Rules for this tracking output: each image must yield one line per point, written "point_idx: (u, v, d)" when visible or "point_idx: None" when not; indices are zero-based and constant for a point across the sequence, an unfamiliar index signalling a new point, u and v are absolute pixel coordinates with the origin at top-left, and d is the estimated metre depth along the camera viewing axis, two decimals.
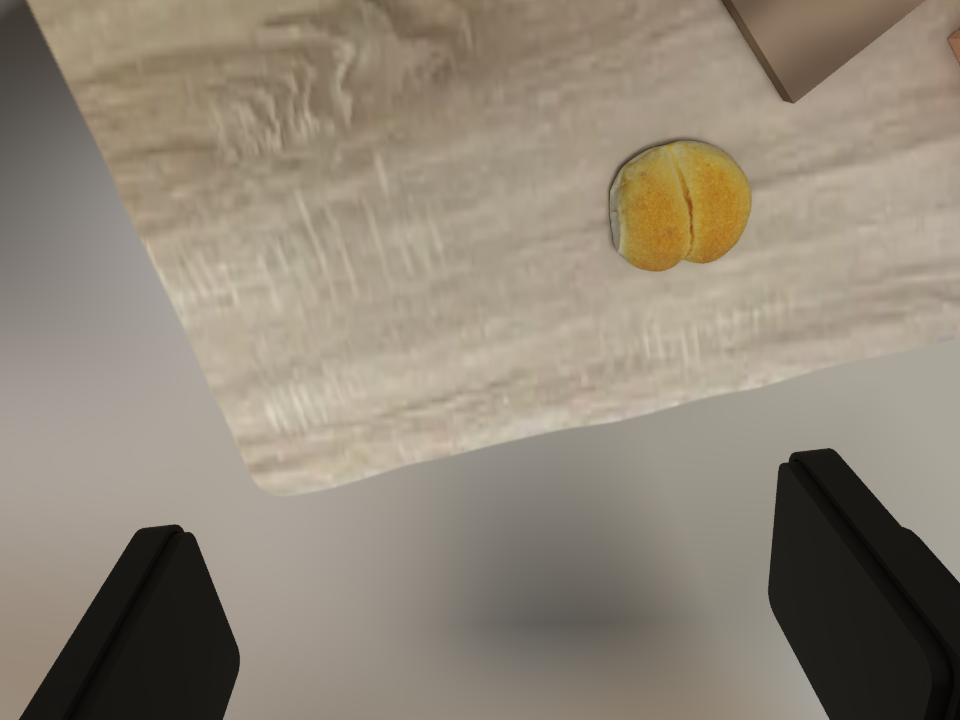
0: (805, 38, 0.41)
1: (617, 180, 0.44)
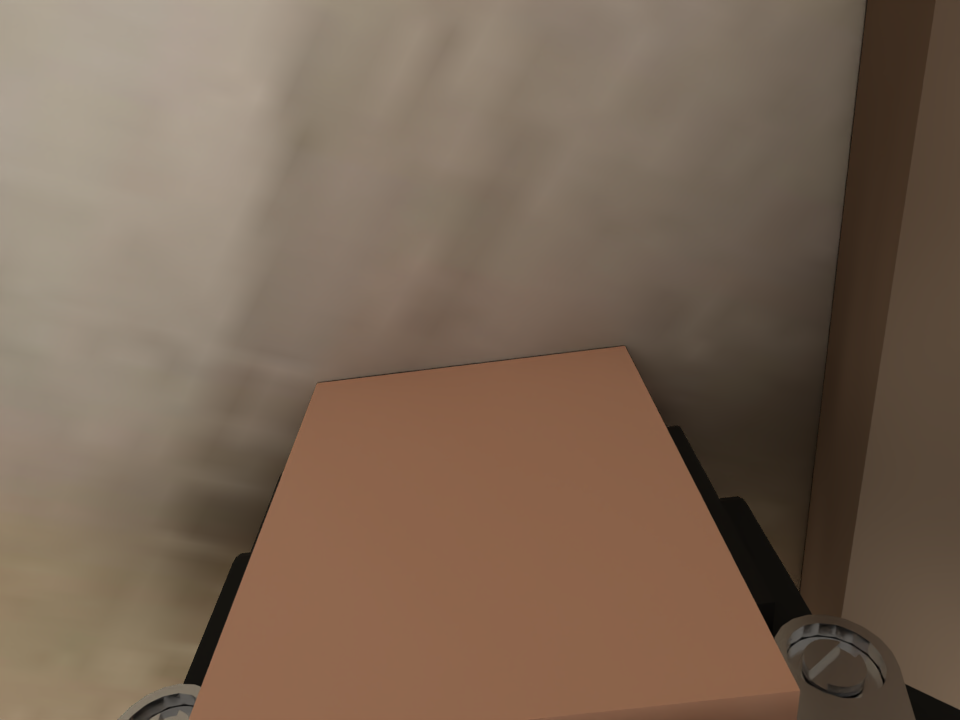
0: None
1: None
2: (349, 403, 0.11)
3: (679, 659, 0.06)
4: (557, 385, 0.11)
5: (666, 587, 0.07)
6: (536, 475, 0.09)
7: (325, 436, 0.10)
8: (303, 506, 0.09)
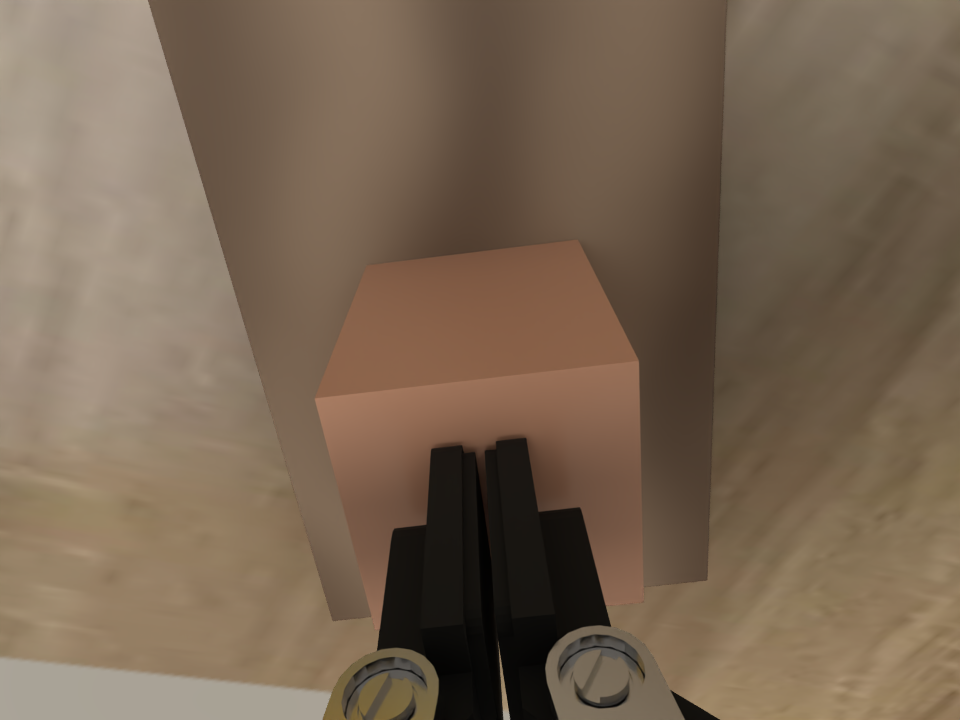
0: (303, 92, 0.15)
1: None
2: (390, 273, 0.16)
3: (580, 355, 0.11)
4: (529, 259, 0.16)
5: (579, 333, 0.12)
6: (511, 297, 0.14)
7: (376, 288, 0.15)
8: (367, 316, 0.14)
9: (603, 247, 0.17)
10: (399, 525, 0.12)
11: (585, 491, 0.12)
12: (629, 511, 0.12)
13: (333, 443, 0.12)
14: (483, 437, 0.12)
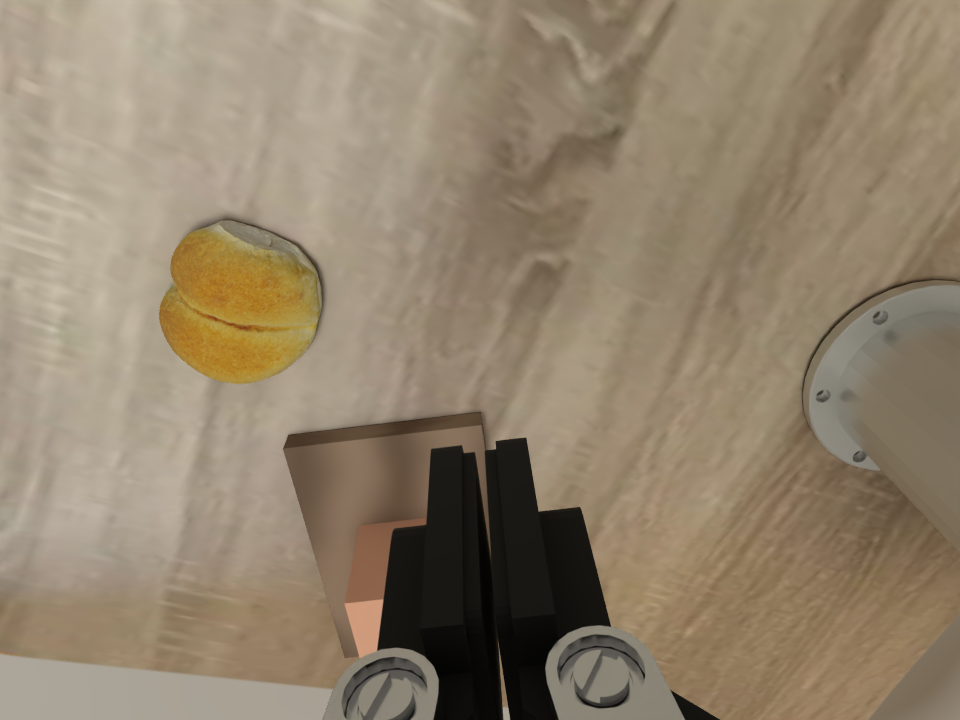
0: (336, 474, 0.43)
1: (304, 261, 0.37)
2: (368, 533, 0.44)
3: None
4: None
5: None
6: None
7: (362, 543, 0.43)
8: (359, 561, 0.41)
9: None
10: (369, 636, 0.40)
11: None
12: None
13: (349, 615, 0.39)
14: None
